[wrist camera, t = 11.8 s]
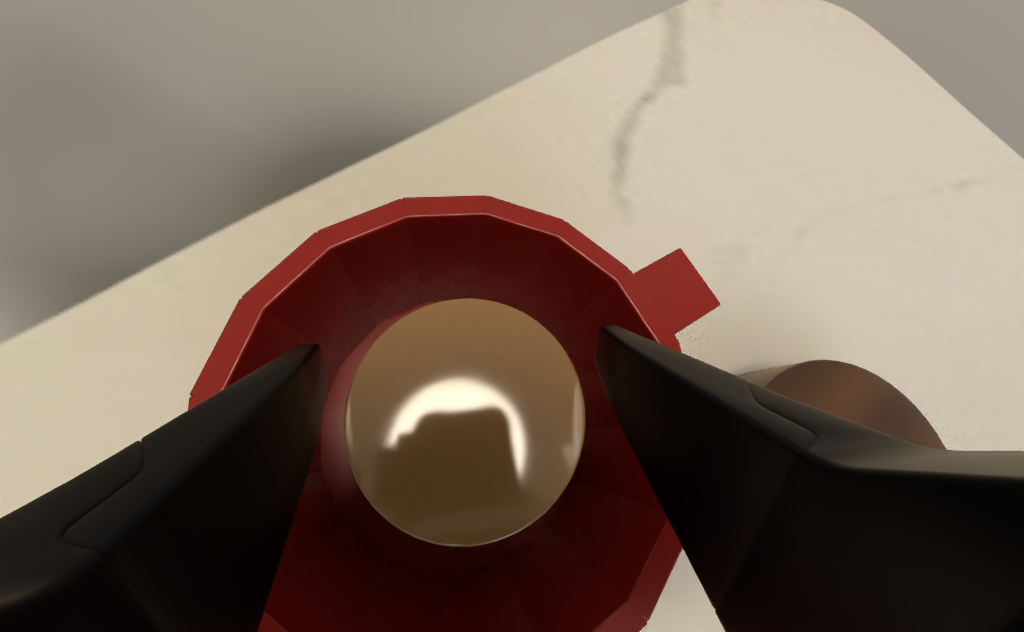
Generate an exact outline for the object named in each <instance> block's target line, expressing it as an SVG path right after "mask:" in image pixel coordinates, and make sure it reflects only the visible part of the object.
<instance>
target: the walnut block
mask: <svg viewBox="0 0 1024 632" xmlns="http://www.w3.org/2000/svg"><path fill="white" fill-rule="evenodd" d="M740 378H742V379H745V380H746V381H747V382H752V383H754V384H757V385H759V386H761V387H764V388H766V389H769V390H771V391H773V392H776V393H778V394H781V395H783V396H786V397H788V398H791V399H793V400H796V401H798V402H801V403H804V404H806V405H809V406H811V407H814V408H817V409H819V410H822V411H825V412H827V413H830V414H833V415H835V416H838V417H841V418H844V419H846V420H849V421H852V422H854V423H857V424H860V425H863V426H865V427H868V428H871V429H873V430H876V431H879V432H881V433H884V434H887V435H890V436H892V437H895V438H898V439H901V440H904V441H907V442H910V443H913V444H917V445H921V446H925V447H931V448H937V449H943V450H946V448H945V446H944V445H943V443H942V441H941V440H940V438H939V436H938V435H937V433H936V432H935V430H934V429H933V427H932V426H931V425H930V423H929V422H928V420H927V419H926V418H925V417H924V416H923V414H922V413H921V412H920V411H919V410H918V409H917V407H916V406H915V405H914V404H913V403H912V402H911V401H910V400H909V399H908V398H907V397H906V396H905V395H903V394H902V393H901V392H900V391H899V390H897V389H896V388H895V387H894V386H892V385H891V384H890V383H888V382H887V381H885V380H884V379H882V378H881V377H879V376H877V375H875V374H873V373H871V372H869V371H867V370H866V369H863V368H860V367H858V366H855V365H852V364H848V363H844V362H840V361H832V360H812V361H807V362H802V363H797V364H792V365H787V366H782V367H777V368H772V369H767V370H762V371H757V372H753V373H748V374H744V375H742V376H740Z"/></svg>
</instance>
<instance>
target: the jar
mask: <svg viewBox="0 0 1024 632" xmlns="http://www.w3.org/2000/svg"><path fill="white" fill-rule="evenodd" d="M584 433H585V405H584V398H583V392H582V389H581V385H580V381H579V378H578V376H577V373H576V371H575V368H574V366H573V364H572V362H571V360H570V358H569V357H568V355H567V353H566V352H565V350H564V349H563V347H562V346H561V345H560V343H559V342H558V341H557V340H556V339H555V337H554V336H553V335H552V334H551V333H550V332H549V331H548V330H547V329H546V328H545V327H543V326H542V325H541V324H540V323H539V322H537V321H536V320H534V319H533V318H531V317H530V316H528V315H527V314H525V313H523V312H521V311H519V310H517V309H515V308H513V307H510V306H507V305H505V304H502V303H498V302H494V301H490V300H484V299H473V298H466V299H452V300H446V301H441V302H437V303H433V304H430V305H427V306H425V307H422V308H420V309H417V310H415V311H413V312H411V313H410V314H408V315H406V316H404V317H403V318H401V319H400V320H398V321H397V322H396V323H394V324H393V325H392V326H390V327H389V328H388V329H387V330H386V331H385V332H384V333H383V334H382V335H381V336H379V337H378V338H377V340H376V341H375V342H374V343H373V345H372V346H371V347H370V348H369V349H368V351H367V352H366V354H365V355H364V357H363V359H362V360H361V362H360V363H359V365H358V367H357V369H356V372H355V374H354V376H353V378H352V381H351V384H350V387H349V390H348V393H347V397H346V403H345V409H344V420H343V434H344V444H345V450H346V454H347V458H348V463H349V466H350V468H351V471H352V473H353V476H354V478H355V481H356V482H357V484H358V486H359V488H360V489H361V491H362V493H363V495H364V496H365V497H366V499H367V500H368V501H369V503H370V504H371V505H372V506H373V508H374V509H375V510H376V511H377V512H378V513H379V514H380V515H381V516H382V517H383V518H385V519H386V520H387V521H388V522H389V523H391V524H392V525H394V526H395V527H396V528H398V529H399V530H401V531H402V532H404V533H406V534H408V535H410V536H412V537H414V538H416V539H419V540H422V541H426V542H429V543H432V544H436V545H442V546H448V547H473V546H480V545H486V544H490V543H493V542H497V541H500V540H503V539H505V538H508V537H510V536H512V535H514V534H517V533H519V532H520V531H522V530H523V529H525V528H527V527H528V526H530V525H531V524H533V523H534V522H535V521H536V520H538V519H539V518H540V517H541V516H542V515H544V514H545V513H546V512H547V511H548V510H549V509H550V507H551V506H552V505H553V504H554V503H555V502H556V501H557V500H558V498H559V497H560V495H561V494H562V493H563V491H564V490H565V488H566V487H567V485H568V483H569V481H570V479H571V477H572V475H573V473H574V471H575V469H576V466H577V463H578V461H579V458H580V454H581V450H582V446H583V442H584Z"/></svg>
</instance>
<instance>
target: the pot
mask: <svg viewBox="0 0 1024 632" xmlns="http://www.w3.org/2000/svg"><path fill="white" fill-rule="evenodd" d="M242 298H243V299H240V300H239V301H238V303H237V305H236V307H235V309H234V311H233V313H232V315H231V317H230V318H229V320H228V322H227V324H226V326H225V328H224V330H223V332H222V334H221V336H220V338H219V339H218V341H217V343H216V345H215V347H214V349H213V351H212V353H211V355H210V357H209V359H208V360H207V362H206V364H205V366H204V368H203V370H202V372H201V374H200V376H199V378H198V380H197V381H196V383H195V385H194V387H193V389H192V391H191V393H190V395H191V396H192V397H190V399H189V406H188V410H190V409H192V408H193V407H195V406H197V405H198V404H200V403H202V402H203V401H205V400H207V399H208V398H210V397H212V396H213V395H215V394H217V393H218V392H220V391H222V390H223V389H225V388H227V387H228V386H230V385H232V384H233V383H235V382H237V381H238V380H240V379H242V378H243V377H245V376H247V375H248V374H250V373H252V372H253V371H255V370H257V369H258V368H260V367H262V366H263V365H265V364H267V363H268V362H270V361H272V360H273V359H275V358H277V357H278V356H280V355H282V354H283V353H285V352H287V351H288V350H290V349H292V348H293V347H295V346H297V345H299V344H311V343H317V344H319V345H320V346H321V349H322V353H323V357H324V361H325V366H326V370H327V376H328V384H327V390H326V396H325V401H324V407H323V413H322V418H321V424H320V429H319V435H318V440H317V444H316V448H315V452H314V455H313V458H312V461H311V465H310V468H309V471H308V474H307V477H306V480H305V484H304V487H303V490H302V493H301V496H300V499H299V503H298V506H297V509H296V512H295V515H294V518H293V521H292V525H291V528H290V531H289V534H288V537H287V540H286V544H285V547H284V550H283V553H282V556H281V559H280V563H279V566H278V569H277V572H276V575H275V578H274V582H273V585H272V588H271V591H270V594H269V597H268V601H267V604H266V607H265V610H264V613H263V616H262V620H261V623H260V626H259V629H258V632H639V631H640V630H641V629H642V628H643V627H645V626H646V625H647V621H648V620H649V619H650V616H651V614H652V612H653V610H654V608H655V606H656V604H657V601H658V599H659V597H660V595H661V593H662V591H663V589H664V586H665V584H666V582H667V580H668V578H669V576H670V574H671V571H672V569H673V567H674V565H675V563H676V561H677V559H678V556H679V554H680V552H681V550H682V548H683V547H682V545H681V543H680V541H679V539H678V537H677V535H676V534H675V532H674V530H673V528H672V526H671V524H670V522H669V520H668V518H667V516H666V514H665V512H664V510H663V508H662V506H661V504H660V502H659V500H658V498H657V496H656V495H655V493H654V491H653V489H652V487H651V485H650V483H649V481H648V479H647V477H646V475H645V473H644V471H643V469H642V467H641V465H640V463H639V461H638V459H637V457H636V456H635V454H634V452H633V450H632V448H631V446H630V444H629V442H628V440H627V438H626V436H625V434H624V432H623V430H622V428H621V426H620V424H619V422H618V420H617V418H616V416H615V414H614V412H613V410H612V407H611V405H610V402H609V399H608V397H607V394H606V391H605V389H604V386H603V383H602V381H601V378H600V375H599V373H598V370H597V367H596V364H595V361H594V352H595V347H596V341H597V335H598V331H599V329H600V328H601V327H602V326H612V325H615V326H619V327H621V328H624V329H626V330H628V331H631V332H633V333H636V334H638V335H640V336H643V337H645V338H647V339H650V340H652V341H654V342H657V343H659V344H662V345H664V346H666V347H669V348H671V349H673V350H676V351H678V352H681V349H680V345H679V341H678V339H676V336H675V335H674V334H676V333H677V332H679V331H680V330H682V329H684V328H685V327H687V326H688V325H690V324H691V323H693V322H695V321H696V320H698V319H699V318H701V317H702V316H704V315H705V314H707V313H709V312H710V311H712V310H713V309H715V308H716V307H718V306H719V305H720V302H719V301H718V300H717V298H716V297H715V295H714V294H713V293H712V291H711V290H710V288H709V287H708V286H707V284H706V283H705V281H704V280H703V279H702V277H701V276H700V274H699V273H698V272H697V270H696V269H695V267H694V266H693V265H692V263H691V262H690V261H689V259H688V258H687V256H686V255H685V254H684V252H683V251H682V249H677V250H675V251H673V252H672V253H670V254H668V255H666V256H664V257H663V258H661V259H659V260H657V261H655V262H653V263H652V264H650V265H648V266H646V267H644V268H643V269H641V270H639V271H637V272H635V273H634V274H633V273H632V272H631V271H630V270H629V269H628V267H626V266H625V265H624V264H622V263H621V262H620V261H618V260H617V259H616V258H614V257H613V256H612V255H610V254H609V253H607V252H606V251H605V250H603V249H602V248H601V247H599V246H598V245H597V244H595V243H594V242H593V241H591V240H590V239H589V238H587V237H586V236H585V235H583V234H582V233H581V232H579V231H578V230H577V229H575V228H574V227H573V226H571V225H570V224H569V223H567V222H564V220H563V219H559V218H556V217H553V216H550V215H547V214H544V213H540V212H537V211H534V210H531V209H528V208H525V207H522V206H518V205H515V204H512V203H509V202H506V201H503V200H500V199H496V198H493V197H490V196H450V197H415V198H403V199H398V200H396V201H393V202H391V203H388V204H385V205H383V206H380V207H378V208H375V209H373V210H370V211H367V212H365V213H362V214H360V215H357V216H354V217H352V218H349V219H347V220H344V221H342V222H339V223H336V224H334V225H331V226H329V227H326V228H324V229H321V230H319V231H318V233H317V232H316V233H314V234H313V235H311V236H310V237H309V238H308V239H307V240H306V241H305V242H304V243H302V244H301V245H300V246H299V247H298V248H297V249H296V250H294V251H293V252H292V253H291V254H290V255H289V256H288V257H286V258H285V259H284V260H283V261H282V262H281V263H280V264H278V265H277V266H276V267H275V268H274V269H273V270H272V271H270V272H269V273H268V274H267V275H266V276H265V277H264V278H262V279H261V280H260V281H259V282H258V283H257V284H256V285H254V286H253V287H252V288H251V289H250V290H249V291H248V292H246V293H245V294H244V295H243V296H242ZM466 298H473V299H484V300H490V301H494V302H498V303H502V304H505V305H507V306H510V307H513V308H515V309H517V310H519V311H521V312H523V313H525V314H527V315H528V316H530V317H531V318H533V319H534V320H536V321H537V322H539V323H540V324H541V325H542V326H543V327H545V328H546V329H547V330H548V331H549V332H550V333H551V334H552V335H553V336H554V337H555V339H556V340H557V341H558V342H559V343H560V345H561V346H562V347H563V349H564V350H565V352H566V353H567V355H568V357H569V358H570V360H571V362H572V364H573V366H574V368H575V371H576V373H577V376H578V378H579V381H580V385H581V389H582V392H583V398H584V405H585V433H584V442H583V446H582V450H581V454H580V458H579V461H578V463H577V466H576V469H575V471H574V473H573V475H572V477H571V479H570V481H569V483H568V485H567V487H566V488H565V490H564V491H563V493H562V494H561V495H560V497H559V498H558V500H557V501H556V502H555V503H554V504H553V505H552V506H551V507H550V509H549V510H548V511H547V512H546V513H545V514H544V515H542V516H541V517H540V518H539V519H538V520H536V521H535V522H534V523H533V524H531V525H530V526H528V527H527V528H525V529H523V530H522V531H520V532H519V533H517V534H514V535H512V536H510V537H508V538H505V539H503V540H500V541H497V542H493V543H490V544H486V545H480V546H473V547H448V546H442V545H436V544H432V543H429V542H426V541H422V540H419V539H416V538H414V537H412V536H410V535H408V534H406V533H404V532H402V531H401V530H399V529H398V528H396V527H395V526H394V525H392V524H391V523H389V522H388V521H387V520H386V519H385V518H383V517H382V516H381V515H380V514H379V513H378V512H377V511H376V510H375V509H374V508H373V506H372V505H371V504H370V503H369V501H368V500H367V499H366V497H365V496H364V495H363V493H362V491H361V489H360V488H359V486H358V484H357V482H356V481H355V478H354V476H353V473H352V471H351V468H350V466H349V463H348V458H347V454H346V450H345V444H344V434H343V420H344V409H345V403H346V397H347V393H348V390H349V387H350V384H351V381H352V378H353V376H354V374H355V372H356V369H357V367H358V365H359V363H360V362H361V360H362V359H363V357H364V355H365V354H366V352H367V351H368V349H369V348H370V347H371V346H372V345H373V343H374V342H375V341H376V340H377V338H378V337H379V336H381V335H382V334H383V333H384V332H385V331H386V330H387V329H388V328H389V327H390V326H392V325H393V324H394V323H396V322H397V321H398V320H400V319H401V318H403V317H404V316H406V315H408V314H410V313H411V312H413V311H415V310H417V309H420V308H422V307H425V306H427V305H430V304H433V303H437V302H441V301H446V300H452V299H466ZM681 353H682V352H681Z"/></svg>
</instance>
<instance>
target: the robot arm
mask: <svg viewBox="0 0 1024 632" xmlns="http://www.w3.org/2000/svg"><path fill="white" fill-rule="evenodd" d="M594 361H595V364H596V367H597V370H598V373H599V375H600V378H601V381H602V383H603V386H604V389H605V391H606V394H607V397H608V399H609V402H610V405H611V407H612V410H613V412H614V414H615V416H616V418H617V420H618V422H619V424H620V426H621V428H622V430H623V432H624V434H625V436H626V438H627V440H628V442H629V444H630V446H631V448H632V450H633V452H634V454H635V456H636V457H637V459H638V461H639V463H640V465H641V467H642V469H643V471H644V473H645V475H646V477H647V479H648V481H649V483H650V485H651V487H652V489H653V491H654V493H655V495H656V496H657V498H658V500H659V502H660V504H661V506H662V508H663V510H664V512H665V514H666V516H667V518H668V520H669V522H670V524H671V526H672V528H673V530H674V532H675V534H676V535H677V537H678V539H679V541H680V543H681V545H682V547H683V549H684V551H685V553H686V555H687V557H688V559H689V561H690V563H691V565H692V567H693V569H694V571H695V573H696V574H697V576H698V578H699V580H700V582H701V584H702V586H703V588H704V590H705V592H706V594H707V596H708V598H709V600H710V602H711V604H712V606H713V607H714V609H716V610H715V612H716V614H717V616H718V618H719V620H720V622H721V624H722V626H723V628H724V630H725V632H1024V451H953V450H943V449H937V448H931V447H925V446H921V445H917V444H913V443H910V442H907V441H904V440H901V439H898V438H895V437H892V436H890V435H887V434H884V433H881V432H879V431H876V430H873V429H871V428H868V427H865V426H863V425H860V424H857V423H854V422H852V421H849V420H846V419H844V418H841V417H838V416H835V415H833V414H830V413H827V412H825V411H822V410H819V409H817V408H814V407H811V406H809V405H806V404H804V403H801V402H798V401H796V400H793V399H791V398H788V397H786V396H783V395H781V394H778V393H776V392H773V391H771V390H769V389H766V388H764V387H761V386H759V385H757V384H754V383H752V382H747V381H746V380H745V379H742V378H740V377H737V376H735V375H733V374H730V373H728V372H726V371H723V370H721V369H718V368H716V367H714V366H711V365H709V364H707V363H704V362H702V361H700V360H697V359H695V358H692V357H690V356H688V355H685V354H683V353H681V352H678V351H676V350H673V349H671V348H669V347H666V346H664V345H662V344H659V343H657V342H654V341H652V340H650V339H647V338H645V337H643V336H640V335H638V334H636V333H633V332H631V331H628V330H626V329H624V328H621V327H619V326H615V325H612V326H602V327H601V328H600V329H599V331H598V335H597V341H596V347H595V352H594ZM327 384H328V376H327V370H326V366H325V361H324V357H323V353H322V349H321V346H320V345H319V344H317V343H311V344H299V345H297V346H295V347H293V348H292V349H290V350H288V351H287V352H285V353H283V354H282V355H280V356H278V357H277V358H275V359H273V360H272V361H270V362H268V363H267V364H265V365H263V366H262V367H260V368H258V369H257V370H255V371H253V372H252V373H250V374H248V375H247V376H245V377H243V378H242V379H240V380H238V381H237V382H235V383H233V384H232V385H230V386H228V387H227V388H225V389H223V390H222V391H220V392H218V393H217V394H215V395H213V396H212V397H210V398H208V399H207V400H205V401H203V402H202V403H200V404H198V405H197V406H195V407H193V408H192V409H190V410H188V411H187V412H185V413H183V414H182V415H180V416H178V417H177V418H175V419H173V420H172V421H170V422H168V423H167V424H165V425H163V426H162V427H160V428H158V429H157V430H155V431H153V432H152V433H150V434H148V435H147V436H145V437H143V438H142V440H141V441H142V442H141V441H136V442H135V443H133V444H131V445H130V446H128V447H126V448H125V449H123V450H121V451H120V452H118V453H116V454H115V455H113V456H111V457H110V458H108V459H106V460H104V461H103V462H101V463H99V464H98V465H96V466H94V467H92V468H91V469H89V470H87V471H86V472H84V473H82V474H80V475H79V476H77V477H75V478H74V479H72V480H70V481H68V482H66V483H64V484H63V485H61V486H59V487H57V488H55V489H53V490H52V491H50V492H48V493H46V494H44V495H43V496H41V497H39V498H37V499H35V500H33V501H32V502H30V503H28V504H26V505H24V506H23V507H21V508H19V509H17V510H15V511H13V512H11V513H10V514H8V515H6V516H4V517H2V518H0V632H258V629H259V626H260V623H261V620H262V616H263V613H264V610H265V607H266V604H267V601H268V597H269V594H270V591H271V588H272V585H273V582H274V578H275V575H276V572H277V569H278V566H279V563H280V559H281V556H282V553H283V550H284V547H285V544H286V540H287V537H288V534H289V531H290V528H291V525H292V521H293V518H294V515H295V512H296V509H297V506H298V503H299V499H300V496H301V493H302V490H303V487H304V484H305V480H306V477H307V474H308V471H309V468H310V465H311V461H312V458H313V455H314V452H315V448H316V444H317V440H318V435H319V429H320V424H321V418H322V413H323V407H324V401H325V396H326V390H327Z"/></svg>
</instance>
